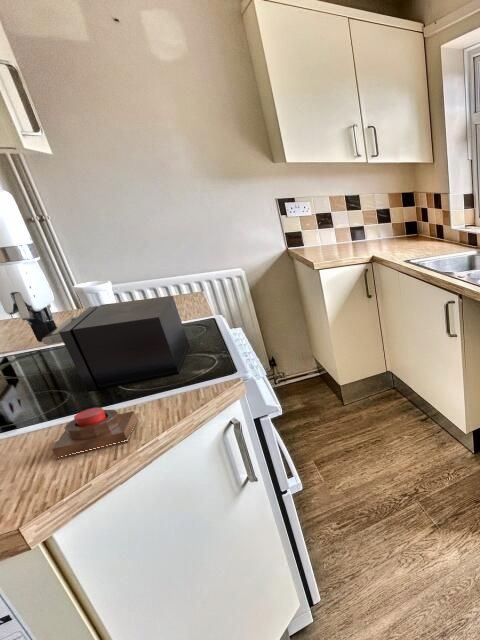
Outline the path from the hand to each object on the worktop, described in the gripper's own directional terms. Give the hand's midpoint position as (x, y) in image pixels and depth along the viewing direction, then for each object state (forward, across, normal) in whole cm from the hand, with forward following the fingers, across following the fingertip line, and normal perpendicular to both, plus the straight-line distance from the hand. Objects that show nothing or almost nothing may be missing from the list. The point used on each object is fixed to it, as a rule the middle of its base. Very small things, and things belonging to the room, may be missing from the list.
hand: (49, 339), depth 91 cm
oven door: (+10, 0, +4) cm, 11 cm away
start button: (+6, +34, +13) cm, 37 cm away
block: (+10, +34, +13) cm, 38 cm away
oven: (+10, 0, +14) cm, 18 cm away
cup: (+10, -38, 0) cm, 39 cm away
